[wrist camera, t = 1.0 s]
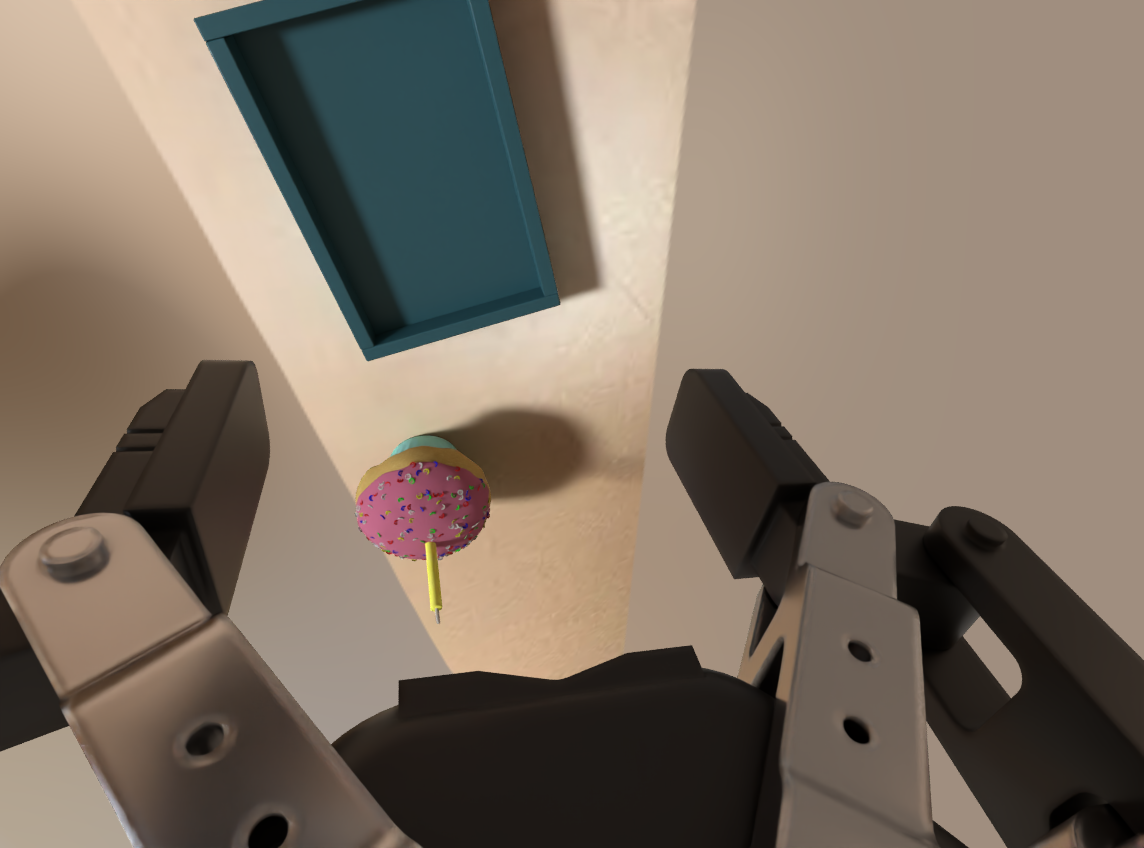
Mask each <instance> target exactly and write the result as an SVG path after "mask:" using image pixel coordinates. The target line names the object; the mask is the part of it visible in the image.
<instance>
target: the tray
mask: <svg viewBox="0 0 1144 848" xmlns="http://www.w3.org/2000/svg"><path fill="white" fill-rule="evenodd" d="M194 22H195V24H196V25H197V27H198V29H199V31H200V33H201V35H202V37H203V39H204V41H206V45H207V47H208V49H209V51H210V53H211V55H212V57H213V59H214V61H215V63H216V65H217V67H218V69H219V70H220V72H221V74H222V76H223V78H224V80H225V82H226V84H227V86H228V88H229V90H230V92H231V94H232V96H233V98H234V100H235V102H236V104H237V106H238V108H239V110H240V112H241V114H242V116H243V118H244V120H245V122H246V124H247V126H248V128H249V130H250V132H251V134H252V136H253V138H254V140H255V142H256V144H257V145H258V147H259V149H260V151H261V153H262V155H263V157H264V159H265V161H266V163H267V165H268V167H269V169H270V171H271V173H272V175H273V177H274V179H275V181H276V183H277V185H278V187H279V189H280V191H281V193H282V195H283V197H284V199H285V201H286V203H287V205H288V207H289V209H290V211H291V213H292V215H293V217H294V218H295V220H296V222H297V224H298V226H299V228H300V230H301V232H302V234H303V236H304V238H305V240H306V242H307V244H308V246H309V248H310V250H311V252H312V254H313V256H314V258H315V260H316V262H317V264H318V266H319V268H320V270H321V272H322V274H323V276H324V278H325V280H326V282H327V284H328V286H329V288H330V290H331V291H332V293H333V295H334V297H335V299H336V301H337V303H338V305H339V307H340V309H341V311H342V313H343V315H344V317H345V319H346V321H347V323H348V325H349V327H350V329H351V331H352V333H353V335H354V337H355V339H356V341H357V343H358V345H359V347H360V349H361V350H362V352H363V354H364V356H365V358H366V360H367V361H371V360H374V359H377V358H381V357H384V356H388V355H391V354H395V353H398V352H401V351H405V350H408V349H412V348H415V347H418V346H422V345H425V344H429V343H432V342H435V341H439V340H442V339H446V338H449V337H452V336H456V335H459V334H463V333H466V332H469V331H473V330H476V329H480V328H483V327H487V326H490V325H493V324H497V323H500V322H504V321H507V320H510V319H514V318H517V317H521V316H524V315H527V314H531V313H534V312H538V311H541V310H544V309H548V308H551V307H555V306H558V305H560V299H559V295H558V291H557V287H556V282H555V278H554V274H553V270H552V266H551V261H550V257H549V253H548V249H547V245H546V240H545V236H544V232H543V228H542V224H541V219H540V215H539V211H538V207H537V203H536V198H535V194H534V190H533V186H532V182H531V177H530V173H529V169H528V165H527V161H526V157H525V152H524V148H523V144H522V140H521V136H520V131H519V127H518V123H517V119H516V115H515V110H514V106H513V102H512V98H511V94H510V89H509V85H508V81H507V77H506V73H505V68H504V64H503V60H502V56H501V52H500V47H499V43H498V39H497V35H496V31H495V27H494V22H493V18H492V14H491V10H490V6H489V1H488V0H262V1H258V2H254V3H251V4H247V5H243V6H239V7H235V8H231V9H228V10H224V11H220V12H216V13H212V14H209V15H205V16H201V17H197V18H194Z"/></svg>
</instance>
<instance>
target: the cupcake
mask: <svg viewBox="0 0 1144 848" xmlns="http://www.w3.org/2000/svg"><path fill="white" fill-rule="evenodd" d="M490 502H491V492H490V488H489V486H488V483H487V481H486V479H485V476H484V473H483V470H482V469H481V468H480V467H479V466H478V465H477V464H476V463H474V462H473V461H471V460H470V459H469V458H467V457H466V456H465V455H463V454H462V453H460V452H459V451H457V449H456V448H455V447H454V446H453V445H452V444H451V443H450V442H448V441H446V440H445V439H442V438H440V437H436V436H428V435H424V436H417V437H413V438H410V439H407V440H405V441H404V442H402V443H401V444H399V445H398V446H397V447H396V448H395V450H394V451H393V453H392V454H391V456H390V457H389V458H388V459H387V460H385V461H384V462H383V463H381V464H379V465H377V466H374V467H372V468H370V469H369V470H368V471H367V472H366V473H365V475H364V476H363V477H362V479H361V481H360V483H359V486H358V488H357V492H356V512H357V513H355V516H356V517H357V520H358V525H359V527H358V530H359V531H360V532H363V533H364V534H365V535H366V537H367V539H368V540H370V541H371V542H372V543H373V545H374V546H376V547H378V548H381V549H382V551H383V552H386V553H387V554H395V556H399V557H400V558H401V559H403V558H408V559H411V560H412V561H416V560H417V559H422V560H427V571H428V583H429V595H430V607H431V610H432V611H435V614H436V622H437V624H439V623H440V617H439V610H441V609H442V600H441V589H440V579H439V569H438V560H442V559H443V557H444V556H448V555H450V554H453V552H457V551H460V549H464V548H465V547H467V546H468V545H469V544H470V543H471V541H473V540H475V539H476V538H477V535H478V534H479V533H480V531H481V530H482V528H484V527H485V522H486V519H487V518H489V517H490V514H489V512H490V508H489V507H490ZM488 515H489V516H488ZM388 552H389V553H388ZM439 558H441V559H439ZM415 559H416V560H415Z"/></svg>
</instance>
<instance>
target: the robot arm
mask: <svg viewBox="0 0 1144 848" xmlns="http://www.w3.org/2000/svg"><path fill="white" fill-rule="evenodd" d="M666 450H667V454H668V457H669V459H670V461H671V463H672V465H673V467H674V469H675V471H676V472H677V474H678V476H679V478H680V480H681V482H682V483H683V485H684V487H685V489H686V491H687V493H688V495H689V497H690V498H691V500H692V502H693V504H694V506H695V508H696V510H697V511H698V513H699V515H700V517H701V519H702V521H703V523H704V524H705V526H706V528H707V530H708V532H709V534H710V535H711V537H712V539H713V541H714V543H715V545H716V547H717V548H718V550H719V552H720V554H721V556H722V558H723V559H724V561H725V563H726V565H727V567H728V569H729V571H730V572H731V574H732V576H733V578H734V579H741V578H753V577H759V578H760V580H761V581H762V583H763V585H762V587H761V589H760V591H759V593H758V595H757V598H756V602H755V607H754V611H753V615H752V619H751V623H750V628H749V632H748V636H747V641H746V644H745V649H744V653H743V657H742V662H741V665H740V669H739V673H738V676H737V678H736V677H733V676H730V675H728V674H725V673H721V672H717V671H714V670H710V669H706V668H701V665H700V663H699V661H698V658H697V656H696V654H695V652H694V649H693V647H692V646H682V647H674V648H665V649H657V650H649V651H640V652H632V653H626V654H624V655H621V656H619V657H616V658H614V659H611V660H609V661H606V662H604V663H602V664H599V665H597V666H594V667H592V668H589V669H587V670H584V671H582V672H580V673H577V674H575V675H572V676H570V677H567V678H564V679H560V680H549V679H541V678H532V677H524V676H516V675H508V674H499V673H491V672H483V671H474V672H465V673H457V674H449V675H441V676H432V677H424V678H416V679H407V680H399V705H397V706H394V707H392V708H389V709H387V710H385V711H382V712H380V713H378V714H376V715H374V716H372V717H370V718H368V719H366V720H365V721H363V722H361V723H359V724H358V725H356V726H355V727H353V728H352V729H350V730H349V731H347V732H346V733H345V734H343V735H342V736H341V737H339V738H338V739H337V740H336V741H335V742H333V743H332V744H330V743H329V742H328V740H327V739H326V738H325V736H324V735H323V734H322V733H321V731H320V730H319V729H318V728H317V727H316V725H315V724H314V723H313V721H312V720H311V719H310V718H309V716H308V715H307V714H306V713H305V711H304V710H303V709H302V708H301V707H300V705H299V704H298V703H297V701H296V700H295V699H294V698H293V697H292V695H291V694H290V693H289V692H288V690H287V689H286V688H285V686H284V685H283V684H282V683H281V681H280V680H279V679H278V678H277V676H276V675H275V674H274V673H273V671H272V670H271V669H270V668H269V667H268V665H267V664H266V663H265V661H264V660H263V659H262V658H261V656H260V655H259V654H258V653H257V652H256V650H255V649H254V648H253V647H252V645H251V644H250V643H249V642H248V640H247V639H246V638H245V636H244V635H243V634H242V633H241V631H240V630H239V629H238V628H237V627H236V625H235V624H234V623H233V622H232V621H231V620H230V618H229V617H228V612H229V609H230V605H231V601H232V598H233V594H234V591H235V587H236V583H237V580H238V576H239V572H240V569H241V565H242V561H243V558H244V554H245V550H246V547H247V543H248V540H249V536H250V532H251V528H252V525H253V521H254V518H255V514H256V510H257V507H258V503H259V500H260V495H261V492H262V488H263V485H264V481H265V477H266V474H267V470H268V466H269V458H270V441H269V432H268V427H267V421H266V416H265V410H264V405H263V400H262V394H261V389H260V383H259V378H258V373H257V369H256V367H255V364H254V363H253V361H234V360H233V361H232V360H202V361H201V362H200V363H199V365H198V367H197V368H196V370H195V372H194V374H193V376H192V378H191V380H190V382H189V384H188V385H187V388H186V389H184V390H183V389H182V390H181V389H175V390H174V389H166V390H164V391H163V392H162V393H160V394H159V395H157V396H156V397H155V398H153V399H152V400H150V401H149V402H147V403H146V404H145V405H143V406H142V407H140V409H139V410H138V412H137V414H136V415H135V417H134V419H133V420H132V422H131V423H130V425H129V427H128V428H127V434H124V435H123V437H122V438H121V440H120V442H119V443H118V445H117V447H116V452H113V453H112V455H111V457H110V458H109V460H108V461H107V463H106V465H105V466H104V468H103V470H102V471H101V473H100V475H99V476H98V478H97V480H96V481H95V483H94V485H93V486H92V488H91V490H90V491H89V493H88V495H87V497H86V498H85V499H84V501H83V503H82V505H81V506H80V508H79V509H78V511H77V513H76V514H75V516H74V517H72V518H68V519H64V520H62V521H59V522H56V523H53V524H51V525H49V526H46V527H44V528H42V529H40V530H39V531H37V532H35V533H33V534H31V535H30V536H29V537H27V538H26V539H24V540H23V541H22V542H20V543H19V544H18V545H17V546H16V547H14V548H13V549H12V550H11V552H10V553H9V554H8V555H7V556H6V557H5V559H4V561H3V562H2V564H1V566H0V751H3V750H6V749H8V748H11V747H13V746H16V745H19V744H22V743H24V742H27V741H30V740H32V739H35V738H37V737H40V736H43V735H46V734H48V733H51V732H54V731H56V730H59V729H62V728H64V727H67V726H70V727H71V729H72V731H73V733H74V735H75V737H76V739H77V741H78V743H79V745H80V746H81V748H82V750H83V752H84V754H85V756H86V758H87V760H88V761H89V763H90V765H91V767H92V769H93V771H94V773H95V775H96V777H97V779H98V781H99V782H100V784H101V786H102V788H103V790H104V792H105V794H106V796H107V797H108V799H109V801H110V803H111V805H112V807H113V809H114V811H115V813H116V815H117V816H118V818H119V820H120V822H121V824H122V826H123V828H124V830H125V832H126V833H127V835H128V837H129V839H130V841H131V843H132V845H133V847H134V848H968V847H967V846H965V844H963V843H962V842H961V841H959V840H958V839H957V838H955V837H954V836H953V835H951V834H950V833H949V832H948V831H946V830H945V829H944V828H942V827H941V826H940V825H938V824H937V823H936V822H935V821H933V820H932V807H931V792H930V776H929V759H928V745H927V728H926V721H927V722H928V724H929V726H930V727H931V729H932V730H933V732H934V733H935V735H936V737H937V738H938V740H939V741H940V743H941V744H942V746H943V748H944V749H945V751H946V752H947V754H948V755H949V757H950V759H951V760H952V762H953V763H954V765H955V766H956V768H957V770H958V771H959V772H960V774H961V776H962V777H963V779H964V780H965V782H966V784H967V785H968V787H969V788H970V790H971V791H972V793H973V795H974V796H975V798H976V799H977V800H978V802H979V804H980V805H981V807H982V809H983V810H984V812H985V813H986V815H987V817H988V818H989V820H990V821H991V823H992V824H993V826H994V827H995V829H996V831H997V832H998V834H999V835H1000V837H1001V838H1002V840H1003V841H1004V843H1005V845H1006V846H1007V848H1144V660H1143V659H1142V658H1141V657H1140V656H1139V655H1138V654H1137V653H1136V652H1135V651H1134V650H1133V649H1132V648H1131V647H1129V646H1128V644H1127V643H1126V642H1124V640H1122V638H1121V637H1119V635H1117V634H1116V633H1115V632H1114V631H1113V630H1112V629H1111V628H1110V627H1109V626H1108V625H1107V624H1106V623H1105V622H1104V621H1103V620H1102V619H1101V618H1100V617H1099V616H1098V615H1097V614H1096V613H1095V612H1094V611H1093V610H1092V609H1091V608H1090V607H1089V606H1088V605H1087V604H1086V603H1085V602H1084V601H1083V600H1082V599H1081V598H1080V597H1079V596H1078V595H1077V594H1076V593H1075V592H1074V591H1073V590H1072V589H1071V588H1070V587H1069V586H1068V585H1067V584H1066V583H1065V582H1064V581H1063V580H1062V579H1061V578H1060V577H1059V576H1058V575H1057V574H1056V573H1055V572H1054V571H1052V569H1051V568H1050V567H1048V565H1047V564H1045V563H1044V562H1043V561H1042V560H1041V559H1040V558H1039V557H1038V556H1037V555H1036V554H1035V553H1034V552H1033V551H1032V550H1031V549H1030V548H1029V547H1028V546H1027V545H1026V544H1025V543H1024V542H1023V541H1022V540H1021V539H1020V538H1019V537H1018V536H1017V535H1016V534H1015V533H1014V532H1013V531H1012V530H1010V529H1009V528H1008V527H1007V526H1005V525H1004V524H1002V523H1001V522H999V521H998V520H996V519H994V518H992V517H990V516H988V515H986V514H984V513H982V512H979V511H976V510H974V509H970V508H966V507H959V506H951V507H947V508H944V509H943V510H941V512H940V513H939V514H938V516H937V517H936V519H935V520H934V521H933V523H932V524H931V526H930V527H929V526H924V525H919V524H914V523H908V522H904V521H898V520H894V519H893V517H892V515H891V514H890V512H889V511H888V510H887V508H886V507H885V506H884V505H883V504H882V503H881V502H879V501H878V500H877V499H876V498H875V497H873V496H871V495H870V494H868V493H867V492H865V491H863V490H861V489H859V488H856V487H854V486H851V485H848V484H844V483H839V482H830V481H829V480H828V479H827V478H826V476H825V475H824V474H823V473H822V472H821V471H820V469H819V468H818V467H817V466H816V464H815V463H814V462H813V461H812V460H811V459H810V457H809V456H808V455H807V454H806V452H805V451H804V450H803V449H802V448H801V446H800V445H799V444H798V443H797V441H796V440H792V436H791V434H790V433H789V432H788V431H787V430H786V428H785V427H781V422H780V421H779V420H778V419H777V417H776V416H775V415H774V414H773V413H772V411H771V410H770V409H769V408H768V407H767V406H766V405H764V404H763V403H761V402H760V401H758V400H757V399H756V398H754V397H753V396H751V395H750V394H748V393H745V392H744V391H743V390H742V388H741V387H740V386H739V385H738V383H737V382H736V381H735V380H734V379H733V377H732V376H731V375H730V374H729V372H728V371H726V370H724V369H689V370H688V371H686V373H685V374H684V376H683V379H682V381H681V385H680V388H679V391H678V394H677V398H676V401H675V404H674V408H673V411H672V414H671V418H670V421H669V424H668V428H667V432H666ZM980 616H981V617H982V619H983V620H984V621H985V622H986V623H987V625H988V626H989V627H990V628H991V630H992V631H993V632H994V633H995V634H996V635H997V637H998V638H999V639H1000V640H1001V642H1002V643H1003V644H1004V645H1005V646H1006V648H1007V649H1008V650H1009V651H1010V652H1011V654H1012V655H1013V656H1014V658H1015V659H1016V661H1017V662H1018V664H1019V667H1020V669H1021V673H1022V685H1021V688H1020V690H1019V691H1018V693H1017V694H1016V695H1015V696H1013V697H1012V698H1010V697H1009V695H1008V694H1007V693H1006V691H1005V690H1004V689H1003V688H1002V686H1001V685H1000V684H999V683H998V681H997V680H996V678H995V677H994V676H993V675H992V673H991V672H990V671H989V669H988V668H987V667H986V666H985V664H984V663H983V662H982V661H981V660H980V658H979V657H978V655H977V654H976V653H975V652H974V650H973V649H972V648H971V646H970V645H969V644H968V642H967V641H966V640H965V639H964V637H963V635H964V634H965V632H966V631H967V630H968V629H969V628H970V627H971V626H972V624H973V623H974V622H975V621H976V620H977V619H978V618H979V617H980Z"/></svg>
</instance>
